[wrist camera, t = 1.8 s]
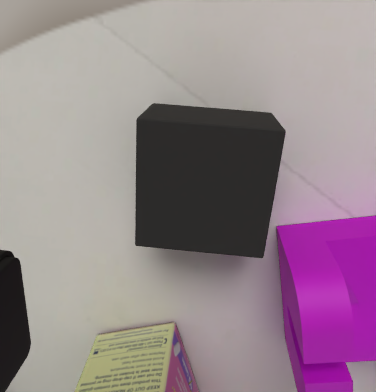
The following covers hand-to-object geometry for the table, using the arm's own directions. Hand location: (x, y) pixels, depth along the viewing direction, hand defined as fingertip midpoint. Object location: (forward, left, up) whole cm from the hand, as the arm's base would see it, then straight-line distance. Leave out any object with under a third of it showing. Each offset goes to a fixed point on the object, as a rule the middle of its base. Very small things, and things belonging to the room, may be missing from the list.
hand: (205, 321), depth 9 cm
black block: (0, 0, -12) cm, 12 cm away
